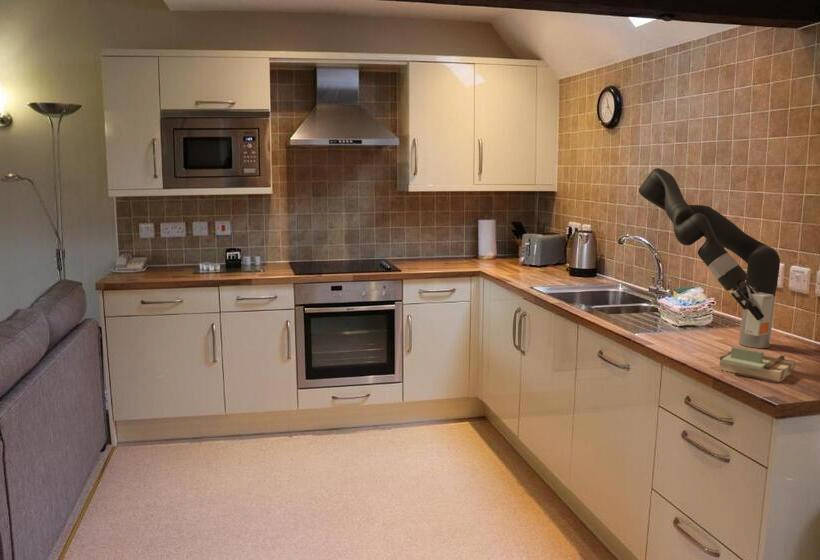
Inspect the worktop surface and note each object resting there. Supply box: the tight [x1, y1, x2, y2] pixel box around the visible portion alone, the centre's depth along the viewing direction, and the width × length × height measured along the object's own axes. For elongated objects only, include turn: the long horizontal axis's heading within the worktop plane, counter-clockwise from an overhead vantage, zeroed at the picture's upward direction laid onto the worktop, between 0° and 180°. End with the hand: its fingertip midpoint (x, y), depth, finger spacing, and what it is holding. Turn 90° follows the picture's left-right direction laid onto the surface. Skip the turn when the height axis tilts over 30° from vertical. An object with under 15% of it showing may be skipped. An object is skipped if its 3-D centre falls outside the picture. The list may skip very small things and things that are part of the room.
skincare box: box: [745, 292, 774, 336], centre depth 203 cm, size 6×4×12 cm
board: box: [718, 350, 796, 384], centre depth 202 cm, size 16×16×4 cm
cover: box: [722, 346, 771, 370], centre depth 198 cm, size 9×11×4 cm
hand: (764, 316), depth 202 cm, fingers closed on skincare box, 6 cm apart
